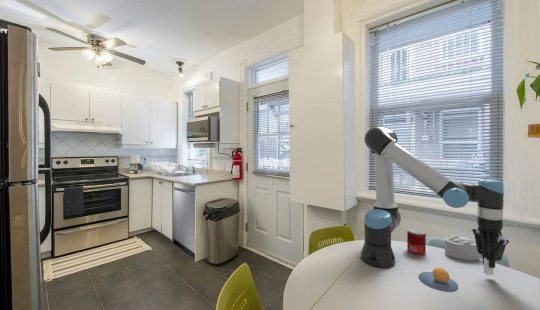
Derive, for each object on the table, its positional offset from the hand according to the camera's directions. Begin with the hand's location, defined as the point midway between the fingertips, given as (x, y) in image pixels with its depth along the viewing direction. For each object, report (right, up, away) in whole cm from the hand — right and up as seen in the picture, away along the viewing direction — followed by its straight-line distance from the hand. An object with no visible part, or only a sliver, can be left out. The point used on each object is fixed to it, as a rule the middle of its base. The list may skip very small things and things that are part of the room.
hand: (488, 273), depth 95 cm
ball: (-21, 0, -2) cm, 21 cm away
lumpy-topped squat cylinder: (+5, -1, +20) cm, 21 cm away
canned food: (-14, -1, +24) cm, 28 cm away
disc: (-22, -3, -1) cm, 22 cm away
